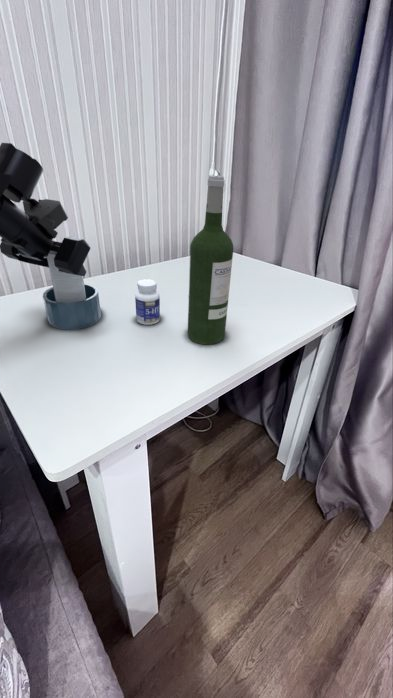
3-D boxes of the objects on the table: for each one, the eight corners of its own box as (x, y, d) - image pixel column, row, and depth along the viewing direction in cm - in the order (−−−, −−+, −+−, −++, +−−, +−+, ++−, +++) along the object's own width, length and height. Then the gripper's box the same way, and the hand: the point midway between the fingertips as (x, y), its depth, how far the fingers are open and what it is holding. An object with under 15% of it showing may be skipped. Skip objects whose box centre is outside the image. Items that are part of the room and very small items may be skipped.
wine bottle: (220, 348, 66) (236, 180, 50) (182, 341, 68) (186, 177, 51) (227, 329, 73) (243, 176, 56) (193, 324, 74) (199, 173, 58)
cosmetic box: (86, 297, 75) (78, 243, 68) (86, 304, 71) (78, 248, 65) (57, 298, 73) (47, 243, 67) (56, 306, 70) (44, 249, 63)
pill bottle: (147, 327, 72) (145, 289, 67) (131, 319, 75) (129, 282, 70) (164, 319, 75) (164, 282, 70) (149, 312, 78) (147, 276, 73)
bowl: (68, 335, 68) (63, 308, 65) (38, 318, 73) (32, 293, 70) (111, 316, 76) (108, 292, 72) (80, 302, 81) (77, 279, 78)
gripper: (74, 190, 53) (122, 244, 68) (-3, 179, 60) (55, 231, 75) (45, 250, 52) (100, 293, 66) (-32, 232, 58) (34, 274, 73)
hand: (71, 270), depth 70 cm, fingers closed on cosmetic box, 7 cm apart
